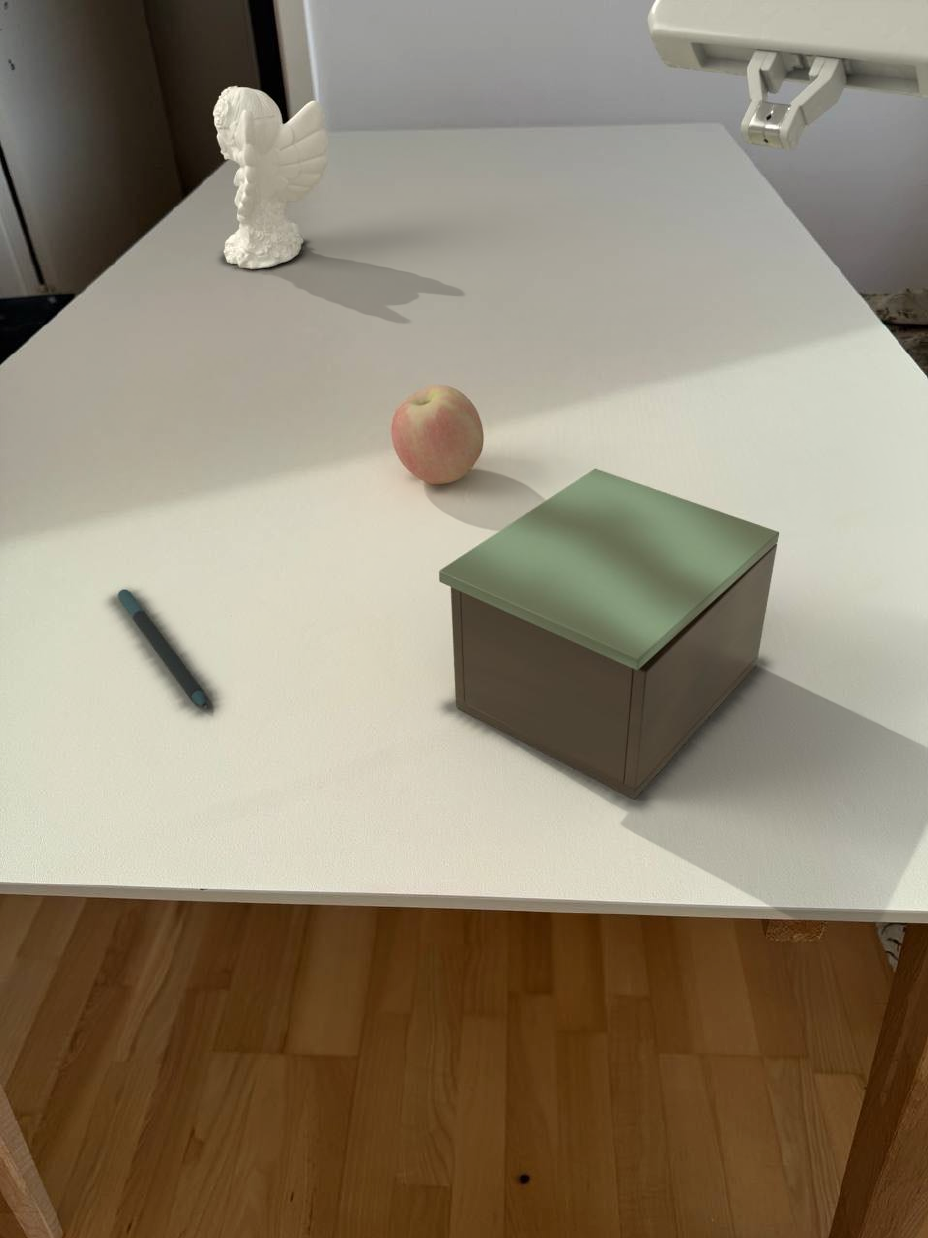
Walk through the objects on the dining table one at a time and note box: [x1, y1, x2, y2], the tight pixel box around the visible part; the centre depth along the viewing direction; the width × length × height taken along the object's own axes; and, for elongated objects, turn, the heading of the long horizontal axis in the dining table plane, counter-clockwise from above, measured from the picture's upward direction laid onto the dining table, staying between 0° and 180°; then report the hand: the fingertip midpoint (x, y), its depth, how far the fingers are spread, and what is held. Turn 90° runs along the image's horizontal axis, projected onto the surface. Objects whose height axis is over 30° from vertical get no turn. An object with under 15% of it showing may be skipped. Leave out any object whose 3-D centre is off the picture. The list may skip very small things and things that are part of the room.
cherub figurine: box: [212, 85, 330, 270], centre depth 137 cm, size 13×12×20 cm
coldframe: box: [450, 543, 778, 800], centre depth 70 cm, size 16×14×10 cm
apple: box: [390, 384, 485, 485], centre depth 93 cm, size 8×8×8 cm
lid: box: [438, 468, 780, 670], centre depth 66 cm, size 17×14×1 cm
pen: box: [117, 589, 208, 709], centre depth 77 cm, size 1×16×1 cm, turn 34°
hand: (765, 141), depth 62 cm, fingers closed
